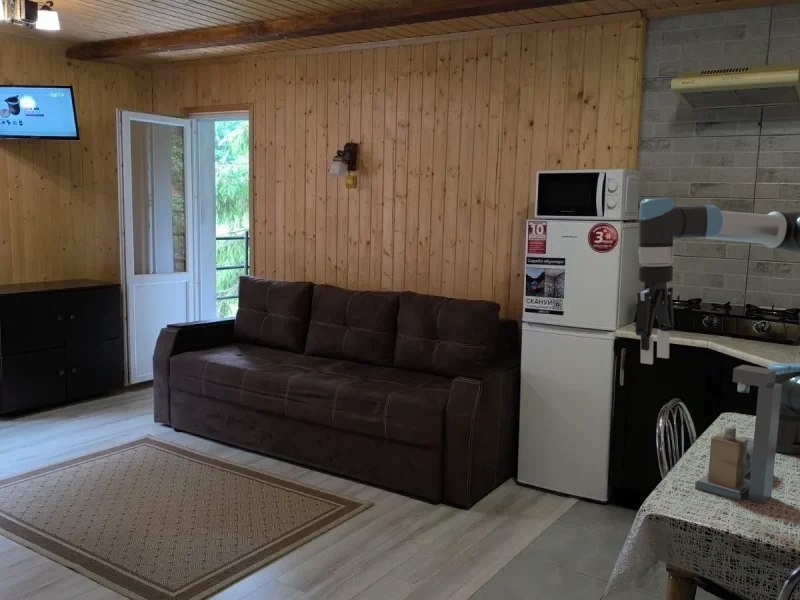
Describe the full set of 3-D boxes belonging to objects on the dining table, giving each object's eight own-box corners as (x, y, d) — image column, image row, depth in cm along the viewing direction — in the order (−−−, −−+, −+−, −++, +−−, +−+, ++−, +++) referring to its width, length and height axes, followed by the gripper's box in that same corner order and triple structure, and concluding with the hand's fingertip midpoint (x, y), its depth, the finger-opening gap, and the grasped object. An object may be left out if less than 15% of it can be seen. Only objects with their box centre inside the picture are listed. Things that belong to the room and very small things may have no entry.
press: (711, 477, 171) (721, 359, 167) (774, 494, 161) (786, 369, 158) (695, 488, 164) (705, 365, 160) (759, 506, 154) (771, 376, 150)
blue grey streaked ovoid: (756, 472, 166) (742, 430, 169) (716, 481, 171) (704, 440, 175) (775, 472, 175) (762, 432, 179) (737, 480, 181) (725, 441, 185)
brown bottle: (717, 473, 168) (721, 422, 166) (743, 480, 164) (748, 428, 162) (707, 480, 164) (712, 427, 162) (734, 487, 160) (739, 434, 158)
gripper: (660, 261, 176) (659, 351, 178) (619, 267, 161) (619, 365, 164) (690, 262, 171) (688, 355, 173) (650, 268, 156) (650, 369, 159)
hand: (655, 360), depth 169 cm, fingers open, 8 cm apart
